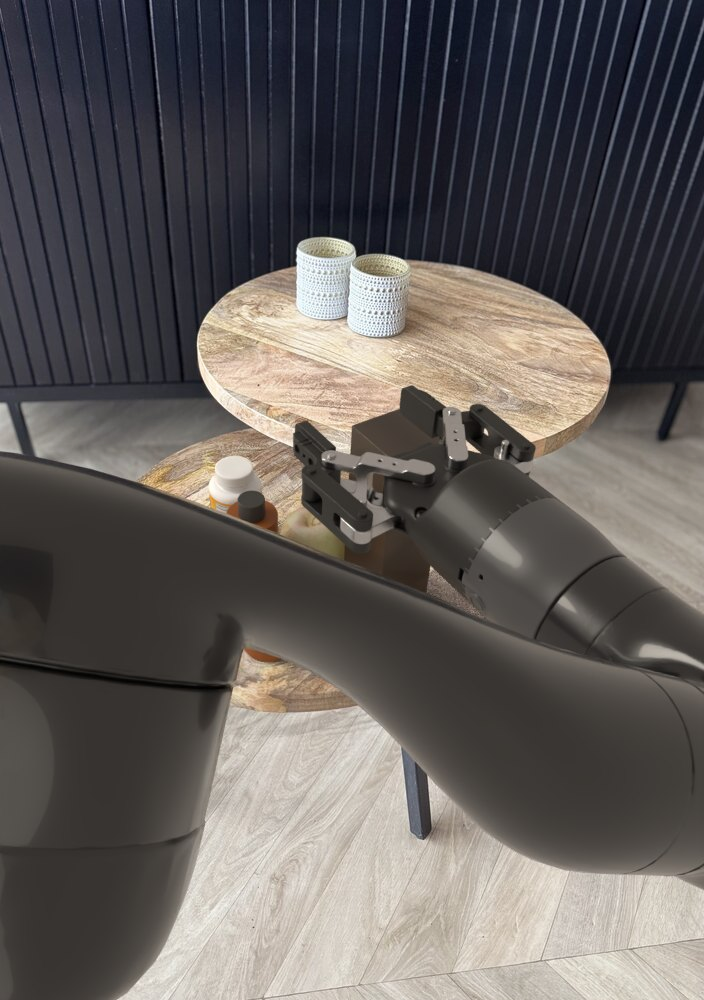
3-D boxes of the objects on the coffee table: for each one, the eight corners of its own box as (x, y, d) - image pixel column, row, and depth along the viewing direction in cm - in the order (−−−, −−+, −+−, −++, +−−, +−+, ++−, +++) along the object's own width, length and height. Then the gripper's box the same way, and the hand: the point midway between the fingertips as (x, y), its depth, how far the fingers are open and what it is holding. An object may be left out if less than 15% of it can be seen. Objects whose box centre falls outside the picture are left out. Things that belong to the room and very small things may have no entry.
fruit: (360, 578, 86) (364, 521, 81) (297, 599, 83) (297, 542, 78) (329, 534, 91) (331, 478, 86) (268, 552, 88) (267, 496, 83)
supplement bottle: (227, 518, 92) (222, 445, 86) (271, 530, 91) (270, 458, 84) (204, 548, 88) (197, 475, 82) (250, 562, 87) (246, 488, 80)
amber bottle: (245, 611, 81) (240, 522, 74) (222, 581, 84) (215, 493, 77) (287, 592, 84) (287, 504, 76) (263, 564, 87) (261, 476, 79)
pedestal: (375, 639, 79) (393, 461, 65) (341, 601, 83) (351, 425, 69) (423, 615, 82) (450, 439, 68) (388, 579, 86) (407, 405, 72)
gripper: (626, 462, 45) (441, 339, 55) (427, 555, 38) (258, 396, 48) (593, 559, 50) (429, 429, 60) (412, 657, 43) (261, 492, 53)
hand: (353, 414), depth 54 cm, fingers open, 8 cm apart
